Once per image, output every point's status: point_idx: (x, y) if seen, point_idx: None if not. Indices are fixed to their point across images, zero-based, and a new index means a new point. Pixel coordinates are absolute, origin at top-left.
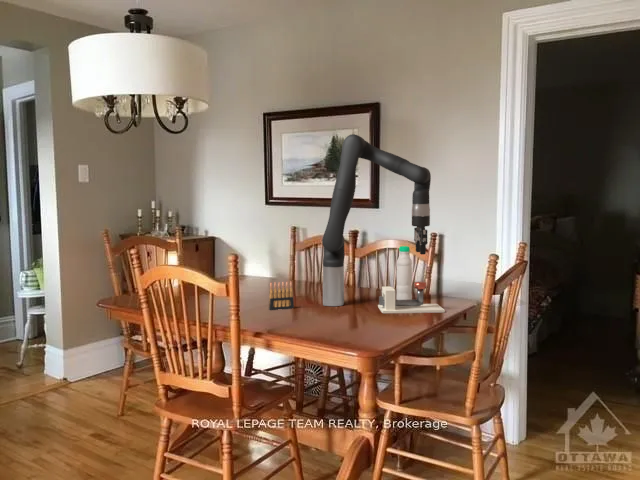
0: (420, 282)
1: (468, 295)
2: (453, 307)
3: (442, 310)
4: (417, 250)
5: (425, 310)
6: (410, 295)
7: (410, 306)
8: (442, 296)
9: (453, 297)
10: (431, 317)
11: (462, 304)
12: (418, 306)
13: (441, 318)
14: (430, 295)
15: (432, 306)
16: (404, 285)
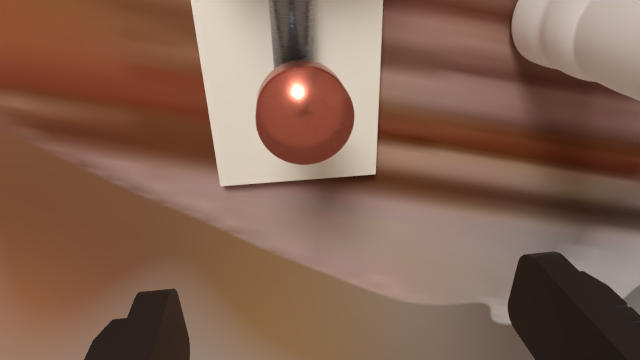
0: (304, 122)
1: None
2: (336, 232)
3: (219, 174)
4: (533, 288)
5: (205, 88)
6: (535, 57)
7: (313, 16)
8: (582, 224)
9: None
10: (87, 97)
11: (395, 273)
12: None
13: (73, 143)
14: (625, 178)
15: None
16: (579, 23)
